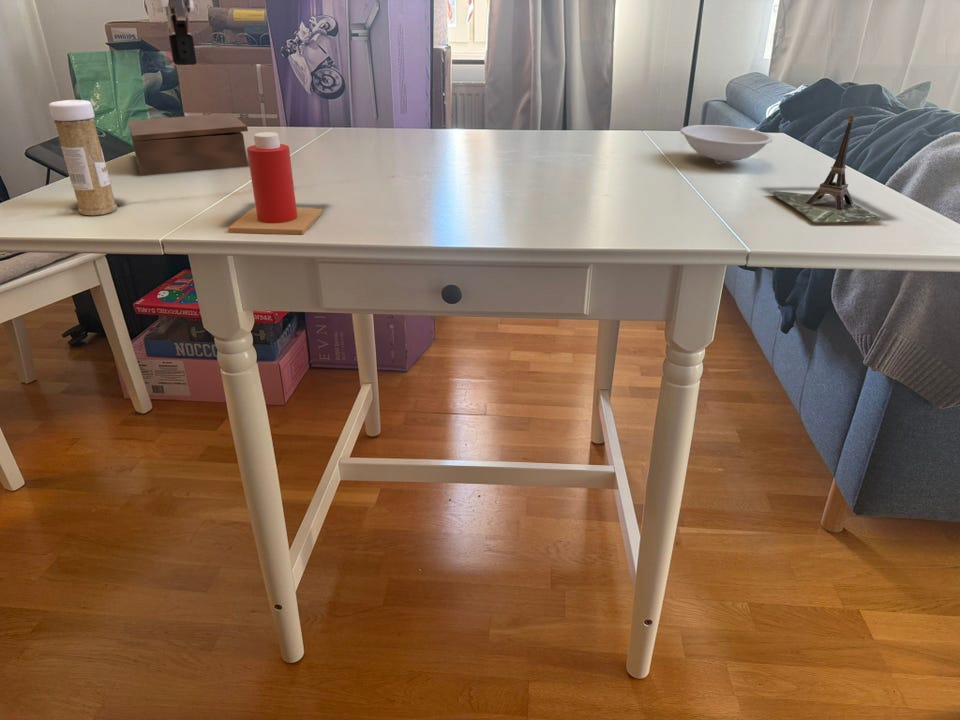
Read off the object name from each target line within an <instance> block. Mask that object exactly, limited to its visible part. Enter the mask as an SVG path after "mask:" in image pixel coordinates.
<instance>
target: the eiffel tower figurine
mask: <svg viewBox="0 0 960 720" xmlns="http://www.w3.org/2000/svg"><path fill="white" fill-rule="evenodd" d="M855 109H856V106H855V105H854V107H853V109H852V113H851V114H850V115H849V116H848V119H847V120H848V121H847V124H846V125H847V126H846V128H845V131H844V135H843V138H842V141H841V143H840V147H839V149H838V153H837V155H836V157H835V160H834V163H833V165H832V166H830V171H829V173H828V175H827V176H826V178H825V180H824V181H823V182H822V183H820V184H819V187H818V189H817V190H816V191H815V192H814V193H799V192H791V191H776V190H775V191H774V190H767V191H768V192H769V193H770V194H772V195H773V196H775V197H776V198H777V199H778V200H780V201H782V202H783V203H786V204H788V205H789V206H791V207H792V208H794V209H795V210H797V211H799V213H801V214H802V215H804V216H805V217H806V218H807V219H808V220H810V221H812V222H813V223H848V222H849V223H850V222H874V221H875V222H876V221H888V219H887V218H885V217H882V216H879V215H876V214H874V213H872V212H870V211H868V210H867V209H865V208H863V207H861V206H859V205H857V204H856V203H854V202H853V200H852V197H851V194H850V192H849V189H848V188H849V183H847V182H846V169H847V166H846V160H847V154H848V153H847V152H848V148H849V143H850V142H849V141H850V137H851V132H852V127H853V122H854V121H855V119H856V118H855V115H854V112H855ZM835 177H836V181H834V180H835Z"/></svg>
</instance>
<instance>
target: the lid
mask: <svg viewBox="0 0 960 720" xmlns="http://www.w3.org/2000/svg"><path fill="white" fill-rule="evenodd" d="M127 124H128V128H129V132H130V131H131V133H130V135H131V134H132V137H131V139H132V138H133V141H140V140H152V139H163V138H175V137H186V136H198V135H210V134H221V133H233V132H241V133H243V132H248V131H249V129H248V125H246V124H245V123H244V122H243V121H242V120H241V119H239V118H238V116H236V115H235V114H233V113H232V112H226V113H225V112H224V113H214V114H213V113H211V114H199V115H187V116H186V115H185V116H172V117H160V118H159V117H157V118H147V119H134V120H133V119H132V120H127Z"/></svg>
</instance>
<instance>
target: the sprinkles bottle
mask: <svg viewBox="0 0 960 720" xmlns="http://www.w3.org/2000/svg"><path fill="white" fill-rule="evenodd" d="M48 107H49V112H50V115H51V119H52V120H54V121H53V123H54V124H55V127H56V131H57V134H58V138H59V142H60V147H61V152H62V156H63V158H64V162H65V165H66V169H67V173H68V175H69V180H70V184H71V187H72V189H73V191H74V195H75V199H76V202H77V206H78V209H77V210H78V213H79V214H81V215H84V216H103V215H107V214H111V213H113V212H115V211H116V210H117V209H118V204H117V202H116V200H115V197H114V192H113V188H112V185H111V179H110V175H109V172H108V168H107V164H106V160H105V157H104V156H105V155H104V153H103V148H102V146H101V143H100V139H99V134H98V130H97V126H96V123H95V116H96V115H95V111H94V107H93V104H92V102H91V101H90V100H87V99H86V100H85V99H66V100H57V101H52V102H50V103H49V104H48Z"/></svg>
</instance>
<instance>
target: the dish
mask: <svg viewBox="0 0 960 720" xmlns="http://www.w3.org/2000/svg"><path fill="white" fill-rule="evenodd" d="M680 134H681V135H683V136H684V138H685V140H686V142H687V143H688V145H689V146H690V148H691V149H692V150H694V151H695V152H696V153H697V154H699V155H700V156H703V157H705V158H707V159H710V160H711V159H712V160H714V162H715V164H718V165H725V164H726V163H727V162H733V161H741V160H746V159H748V158H750V157H752V156H754V155H755V154H757V153H758V152H760V151H761V150H762V149H763V148H764V147H766V145H768V144H771V143H772V142H773V139H774V138H773V136H771V135H770V134H768V133H766V132H763V131H759V130H756V129H750V128H747V127H740V126H731V125H722V124H721V125H720V124H694V125H687V126H683V127H682V128H681V129H680Z"/></svg>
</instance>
